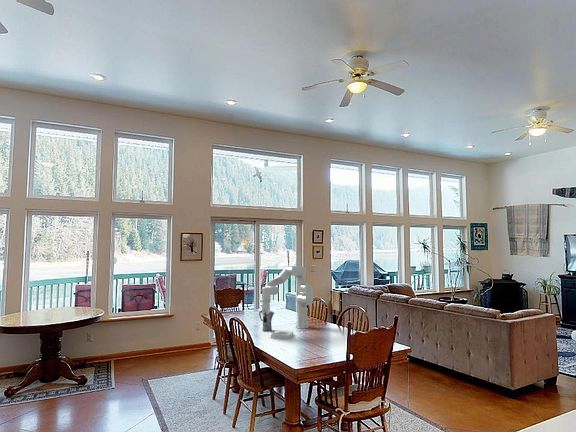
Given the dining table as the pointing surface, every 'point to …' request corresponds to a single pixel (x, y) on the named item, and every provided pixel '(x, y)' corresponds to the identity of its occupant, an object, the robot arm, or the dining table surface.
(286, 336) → the housing
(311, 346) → the dining table surface
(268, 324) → the end cover
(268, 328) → the moka pot
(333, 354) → the dining table surface
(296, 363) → the dining table surface
